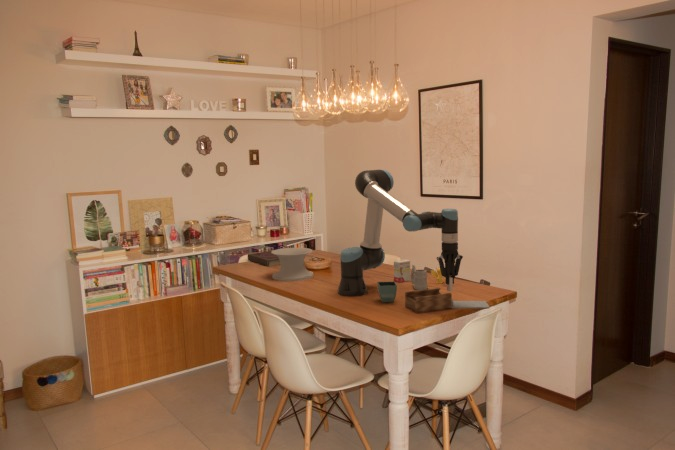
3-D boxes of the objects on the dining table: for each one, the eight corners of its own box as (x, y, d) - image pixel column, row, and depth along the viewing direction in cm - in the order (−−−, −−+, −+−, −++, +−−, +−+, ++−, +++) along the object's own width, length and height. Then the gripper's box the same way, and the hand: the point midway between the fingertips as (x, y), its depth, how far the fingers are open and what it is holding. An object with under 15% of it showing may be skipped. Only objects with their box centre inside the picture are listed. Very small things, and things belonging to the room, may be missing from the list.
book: (296, 263, 370) (296, 255, 369) (267, 267, 358) (267, 260, 357) (275, 256, 395) (275, 250, 394) (247, 260, 383) (247, 254, 382)
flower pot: (394, 298, 271) (394, 281, 270) (397, 303, 262) (397, 285, 261) (377, 299, 271) (377, 281, 270) (379, 304, 262) (379, 285, 261)
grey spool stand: (265, 280, 319) (264, 254, 317) (281, 271, 343) (281, 247, 341) (304, 282, 312) (304, 255, 309) (319, 272, 335) (318, 248, 333)
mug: (419, 291, 285) (419, 268, 283) (405, 286, 295) (405, 265, 293) (430, 288, 289) (430, 266, 287) (416, 284, 299) (416, 263, 297)
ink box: (398, 282, 304) (398, 262, 302) (393, 281, 308) (393, 260, 307) (410, 280, 308) (410, 260, 307) (405, 279, 312) (405, 259, 311)
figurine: (452, 286, 293) (452, 270, 292) (430, 284, 298) (430, 268, 297) (457, 281, 304) (457, 266, 303) (436, 279, 309) (436, 264, 308)
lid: (450, 309, 252) (450, 302, 252) (448, 303, 262) (448, 296, 262) (489, 309, 250) (489, 302, 250) (485, 303, 260) (485, 296, 260)
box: (416, 313, 245) (416, 297, 244) (405, 306, 257) (405, 291, 256) (451, 308, 251) (451, 293, 250) (438, 302, 262) (438, 287, 261)
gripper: (441, 244, 248) (441, 294, 251) (466, 241, 252) (466, 291, 255) (433, 241, 255) (433, 290, 258) (457, 239, 259) (457, 287, 262)
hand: (449, 290), depth 256 cm, fingers closed
